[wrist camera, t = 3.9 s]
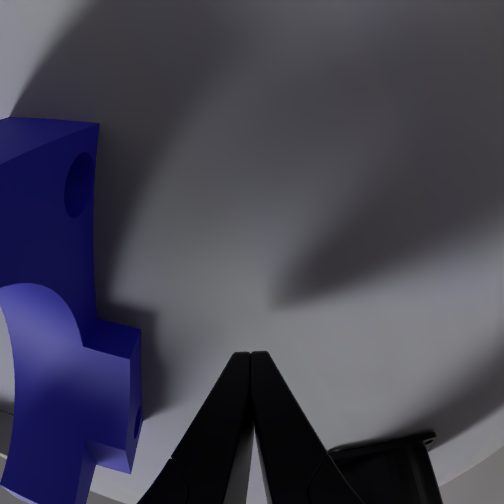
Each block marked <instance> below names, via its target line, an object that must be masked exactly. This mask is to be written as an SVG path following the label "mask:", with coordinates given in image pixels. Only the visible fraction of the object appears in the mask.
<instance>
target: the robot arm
mask: <svg viewBox="0 0 504 504" xmlns="http://www.w3.org/2000/svg"><path fill="white" fill-rule="evenodd" d="M254 427H255V435H256V441H257V447H258V453H259V459H260V464H261V470H262V475H263V481H264V487H265V492H266V497H267V503H268V504H443V502H442V499H441V495H440V491H439V487H438V484H437V481H436V477H435V474H434V471H433V467H432V464H431V461H430V458H429V455H428V452H427V451H428V450H429V449H430V448H431V446H432V445H433V444H434V442H435V441H436V440H437V436H436V434H435V432H429V433H425V434H422V435H418V436H414V437H411V438H407V439H403V440H398V441H394V442H390V443H385V444H380V445H376V446H371V447H365V448H360V449H354V450H348V451H342V452H335V453H330V454H328V452H327V450H326V449H325V447H324V445H323V444H322V442H321V441H320V439H319V437H318V436H317V434H316V432H315V431H314V429H313V427H312V426H311V424H310V422H309V421H308V419H307V417H306V416H305V414H304V412H303V411H302V409H301V407H300V406H299V404H298V402H297V401H296V399H295V397H294V396H293V394H292V392H291V391H290V389H289V387H288V385H287V384H286V382H285V380H284V379H283V377H282V375H281V373H280V372H279V370H278V368H277V367H276V365H275V363H274V361H273V360H272V358H271V356H270V354H269V353H268V352H267V351H253V352H252V353H251V354H250V352H235V353H233V355H232V356H231V358H230V360H229V361H228V363H227V365H226V367H225V368H224V370H223V372H222V373H221V375H220V377H219V378H218V380H217V382H216V383H215V385H214V387H213V388H212V390H211V392H210V393H209V395H208V397H207V398H206V400H205V402H204V403H203V405H202V407H201V408H200V410H199V412H198V413H197V415H196V417H195V418H194V420H193V422H192V423H191V425H190V426H189V428H188V430H187V431H186V433H185V435H184V436H183V438H182V439H181V441H180V443H179V444H178V446H177V447H176V449H175V451H174V452H173V454H172V455H171V458H172V459H171V458H170V459H169V460H168V461H167V463H166V465H165V466H164V468H163V469H162V471H161V472H160V474H159V475H158V477H157V478H156V480H155V481H154V482H153V484H152V485H151V487H150V488H149V489H148V490H147V492H146V493H145V494H144V495H143V497H142V498H141V499H140V500H139V501H138V503H137V504H246V497H247V489H248V481H249V473H250V464H251V456H252V447H253V439H254Z"/></svg>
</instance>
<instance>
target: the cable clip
mask: <svg viewBox="0 0 504 504" xmlns="http://www.w3.org/2000/svg"><path fill="white" fill-rule="evenodd" d="M98 131H99V123H91V122H81V121H69V120H56V119H40V118H18V117H8V118H5V119H1V120H0V306H1V308H2V311H3V313H4V316H5V320H6V323H7V326H8V330H9V334H10V339H11V345H12V351H13V359H14V371H15V406H14V419H13V428H12V435H11V442H10V447H9V452H8V457H7V461H6V465H5V469H4V472H3V476H2V479H1V482H0V485H1V486H2V487H3V488H5V489H6V490H7V491H8V492H10V493H11V494H12V495H14V496H15V497H17V498H20V499H21V500H23V501H25V502H27V503H29V504H86V501H87V497H88V493H89V489H90V485H91V481H92V478H93V474H94V470H95V466H96V464H97V465H100V466H103V467H106V468H110V469H113V470H117V471H120V472H124V473H128V474H131V471H132V466H133V462H134V457H135V453H136V448H137V444H138V439H139V435H140V431H141V427H142V422H143V416H142V395H141V329H137V328H133V327H129V326H125V325H121V324H117V323H113V322H109V321H106V320H102V319H98V318H97V310H96V298H95V282H94V258H93V203H94V180H95V164H96V151H97V141H98Z"/></svg>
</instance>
